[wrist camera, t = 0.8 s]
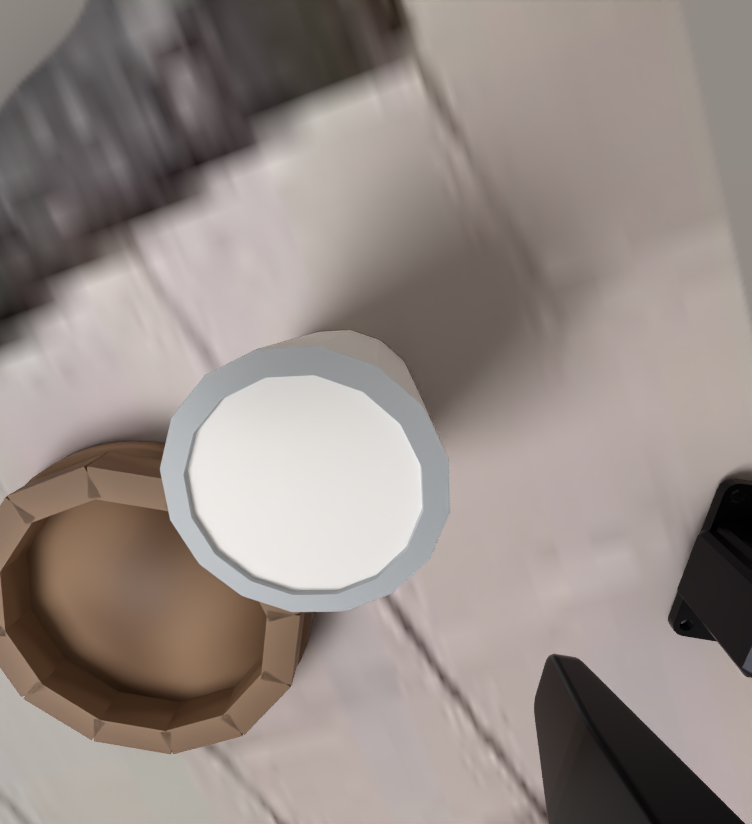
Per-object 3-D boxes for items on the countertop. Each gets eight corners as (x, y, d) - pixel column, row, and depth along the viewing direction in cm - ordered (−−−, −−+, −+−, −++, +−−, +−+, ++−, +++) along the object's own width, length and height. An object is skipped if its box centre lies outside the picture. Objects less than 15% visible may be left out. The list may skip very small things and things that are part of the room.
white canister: (243, 479, 20) (156, 595, 13) (253, 298, 18) (157, 323, 11) (420, 505, 19) (426, 636, 13) (452, 325, 17) (478, 369, 11)
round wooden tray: (332, 470, 19) (323, 496, 17) (298, 731, 23) (287, 779, 21) (-5, 415, 19) (-55, 435, 17) (17, 684, 23) (-22, 726, 21)
